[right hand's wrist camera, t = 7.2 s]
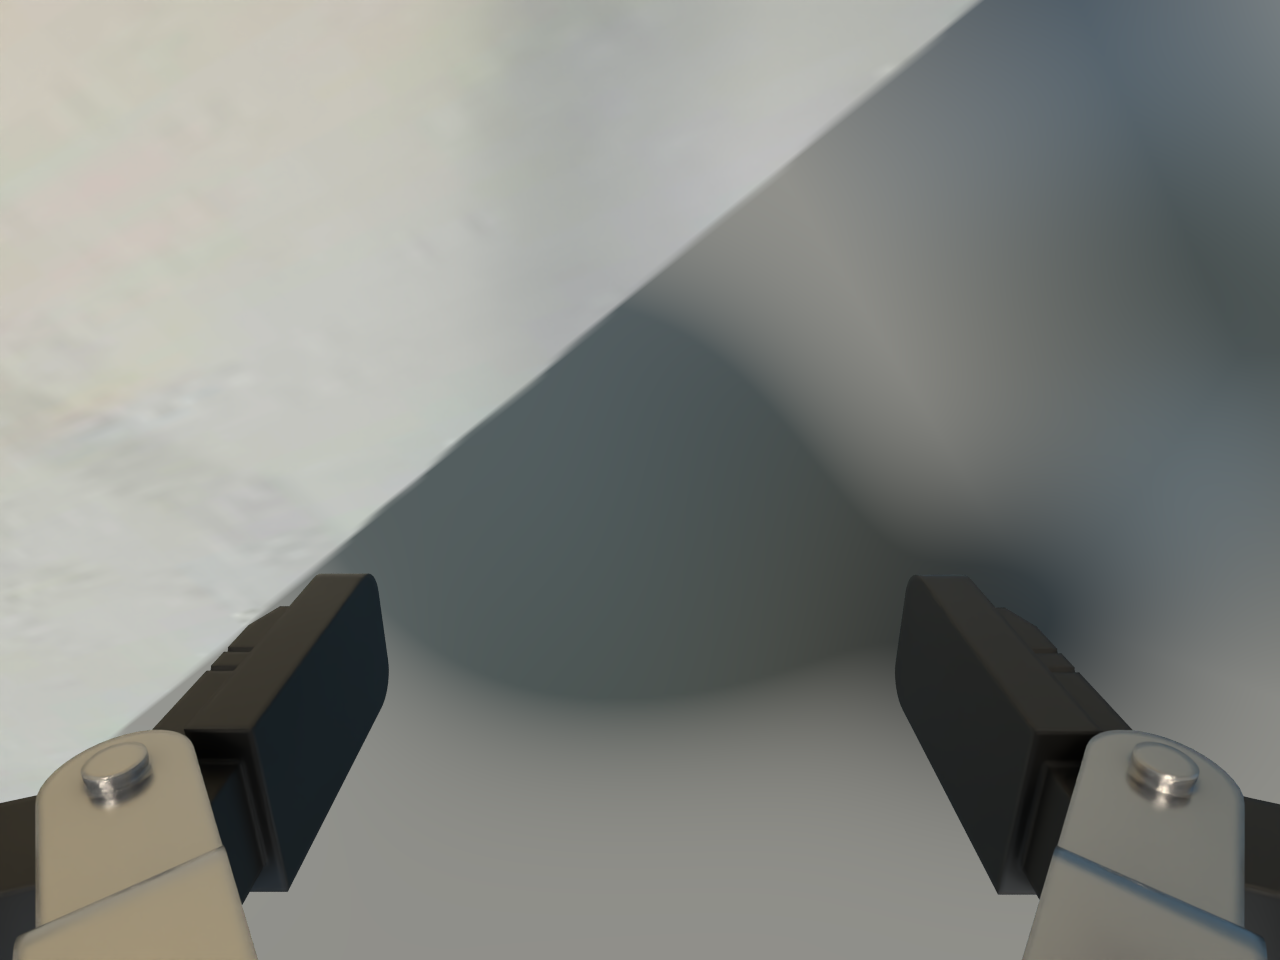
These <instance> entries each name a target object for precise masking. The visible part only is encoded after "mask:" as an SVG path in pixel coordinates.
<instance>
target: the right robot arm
mask: <svg viewBox="0 0 1280 960" xmlns="http://www.w3.org/2000/svg"><path fill="white" fill-rule="evenodd" d="M388 676H389V667H388V657H387V650H386V642H385V635H384V628H383V621H382V614H381V607H380V599H379V592H378V587H377V583H376V581H375V579H374V577H373V576H372V575H371V574H318V575H316V576H315V577H314V578H313V580H312V581H311V582H310V583H309V584H308V585H307V586H306V588H305V589H304V590H303V591H302V592H301V594H300V595H299V596H298V597H297V598H296V599H295V600H294V602H293V603H292V604H291V605H290V606H280V607H278V608H276V609H275V610H273V611H272V612H270V613H268V614H266V615H265V616H263V617H262V618H260V619H258V620H256V621H255V622H253V623H251V624H250V625H248V626H247V627H246V628H245V630H244V631H243V632H242V633H241V634H240V635H239V636H238V637H237V638H236V639H235V640H234V641H233V643H232V644H231V645H230V646H229V647H228V652H223V654H222V655H221V656H220V657H219V658H218V659H217V660H216V661H215V662H214V663H213V664H212V665H211V670H210V671H206V672H205V673H204V674H203V675H202V676H201V677H200V678H199V680H198V681H197V682H196V683H195V684H194V685H193V686H192V687H191V688H190V689H189V690H188V691H187V693H186V694H185V695H184V696H183V697H182V698H181V699H180V700H179V701H178V702H177V703H176V705H175V706H174V707H173V708H172V709H171V710H170V711H169V712H168V713H167V714H166V715H165V716H164V718H163V719H162V720H161V721H160V722H159V723H158V724H157V725H156V726H155V727H154V728H153V730H147V731H139V732H134V733H130V734H125V735H122V736H119V737H115V738H112V739H110V740H107V741H104V742H102V743H99V744H97V745H95V746H93V747H91V748H89V749H87V750H85V751H83V752H81V753H80V754H78V755H76V756H75V757H73V758H72V759H70V760H69V761H67V762H66V763H64V764H63V765H62V766H61V767H59V768H58V769H57V770H56V771H55V772H54V773H53V774H52V775H51V776H50V777H49V778H48V779H47V780H46V781H45V783H44V784H43V785H42V787H41V788H40V790H39V792H38V795H37V796H32V797H27V798H23V799H18V800H13V801H8V802H4V803H0V960H258V958H257V954H256V951H255V948H254V944H253V941H252V938H251V934H250V931H249V927H248V924H247V921H246V917H245V914H244V910H243V907H242V904H243V903H244V901H245V899H246V897H247V895H248V894H249V892H288V890H289V888H290V886H291V884H292V882H293V880H294V878H295V876H296V874H297V872H298V870H299V868H300V867H301V865H302V863H303V861H304V859H305V857H306V855H307V853H308V851H309V849H310V847H311V845H312V843H313V841H314V839H315V837H316V835H317V833H318V831H319V829H320V827H321V825H322V823H323V821H324V819H325V817H326V815H327V814H328V812H329V810H330V808H331V806H332V804H333V802H334V800H335V798H336V796H337V794H338V792H339V790H340V788H341V786H342V784H343V782H344V780H345V778H346V776H347V774H348V772H349V770H350V768H351V766H352V764H353V762H354V760H355V759H356V756H357V755H358V753H359V751H360V749H361V747H362V745H363V743H364V741H365V739H366V737H367V735H368V733H369V731H370V729H371V727H372V725H373V723H374V721H375V719H376V717H377V715H378V713H379V711H380V709H381V707H382V705H383V703H384V700H385V696H386V692H387V686H388ZM895 680H896V689H897V694H898V698H899V702H900V704H901V707H902V709H903V711H904V713H905V715H906V717H907V719H908V721H909V723H910V724H911V726H912V728H913V730H914V732H915V734H916V736H917V738H918V740H919V742H920V744H921V746H922V748H923V750H924V752H925V754H926V756H927V758H928V759H929V761H930V763H931V765H932V767H933V769H934V771H935V773H936V775H937V777H938V779H939V781H940V783H941V785H942V787H943V789H944V791H945V792H946V794H947V796H948V798H949V800H950V802H951V804H952V806H953V808H954V810H955V812H956V814H957V816H958V818H959V820H960V822H961V823H962V825H963V827H964V829H965V831H966V833H967V835H968V837H969V839H970V841H971V843H972V845H973V847H974V849H975V851H976V853H977V855H978V856H979V858H980V860H981V862H982V864H983V866H984V868H985V870H986V872H987V874H988V876H989V878H990V880H991V882H992V884H993V886H994V887H995V889H996V891H997V893H998V894H1000V895H1001V894H1002V895H1007V894H1008V895H1010V894H1011V895H1013V894H1014V895H1015V894H1017V895H1018V894H1019V895H1021V894H1023V895H1024V894H1025V895H1028V894H1029V895H1030V894H1033V895H1037V896H1038V898H1039V904H1038V907H1037V911H1036V914H1035V917H1034V921H1033V924H1032V927H1031V931H1030V934H1029V938H1028V941H1027V944H1026V948H1025V951H1024V955H1023V958H1022V960H1280V804H1275V803H1271V802H1266V801H1261V800H1257V799H1252V798H1248V797H1244V796H1243V795H1242V792H1241V790H1240V788H1239V787H1238V785H1237V784H1236V783H1235V781H1234V780H1233V779H1232V778H1231V777H1230V776H1229V775H1228V774H1227V773H1226V772H1225V771H1224V770H1223V769H1222V768H1221V767H1219V766H1218V765H1217V764H1216V763H1214V762H1213V761H1211V760H1210V759H1208V758H1207V757H1205V756H1204V755H1202V754H1200V753H1198V752H1197V751H1195V750H1193V749H1191V748H1189V747H1187V746H1185V745H1183V744H1180V743H1178V742H1176V741H1173V740H1170V739H1168V738H1165V737H1161V736H1158V735H1154V734H1150V733H1146V732H1140V731H1133V730H1132V729H1131V728H1130V727H1129V726H1128V725H1127V724H1126V723H1125V722H1124V720H1123V719H1122V718H1121V717H1120V716H1119V715H1118V714H1117V713H1116V712H1115V711H1114V710H1113V709H1112V707H1111V706H1110V705H1109V704H1108V703H1107V702H1106V701H1105V700H1104V699H1103V698H1102V697H1101V696H1100V695H1099V693H1098V692H1097V691H1096V690H1095V689H1094V688H1093V687H1092V686H1091V685H1090V684H1089V683H1088V682H1087V681H1086V680H1085V678H1084V677H1083V676H1082V675H1081V674H1080V673H1075V670H1074V667H1073V666H1072V664H1071V663H1070V662H1069V661H1068V660H1067V659H1066V658H1065V657H1064V656H1063V655H1062V654H1061V653H1057V648H1056V647H1055V646H1054V645H1053V644H1052V643H1051V642H1050V641H1049V640H1048V639H1047V638H1046V636H1045V635H1044V634H1043V633H1042V632H1041V631H1040V630H1039V629H1038V628H1037V627H1036V626H1034V625H1033V624H1031V623H1029V622H1028V621H1026V620H1024V619H1023V618H1021V617H1019V616H1018V615H1016V614H1014V613H1013V612H1011V611H1009V610H1008V609H1006V608H995V607H994V605H993V604H992V603H991V602H990V601H989V600H988V599H987V597H986V596H985V595H984V594H983V593H982V592H981V590H980V589H979V588H978V587H977V586H976V585H975V584H974V582H973V581H972V580H971V579H970V578H969V577H968V576H966V575H913V576H912V577H911V578H910V580H909V582H908V584H907V588H906V593H905V601H904V608H903V615H902V622H901V629H900V636H899V643H898V650H897V657H896V665H895Z"/></svg>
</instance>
